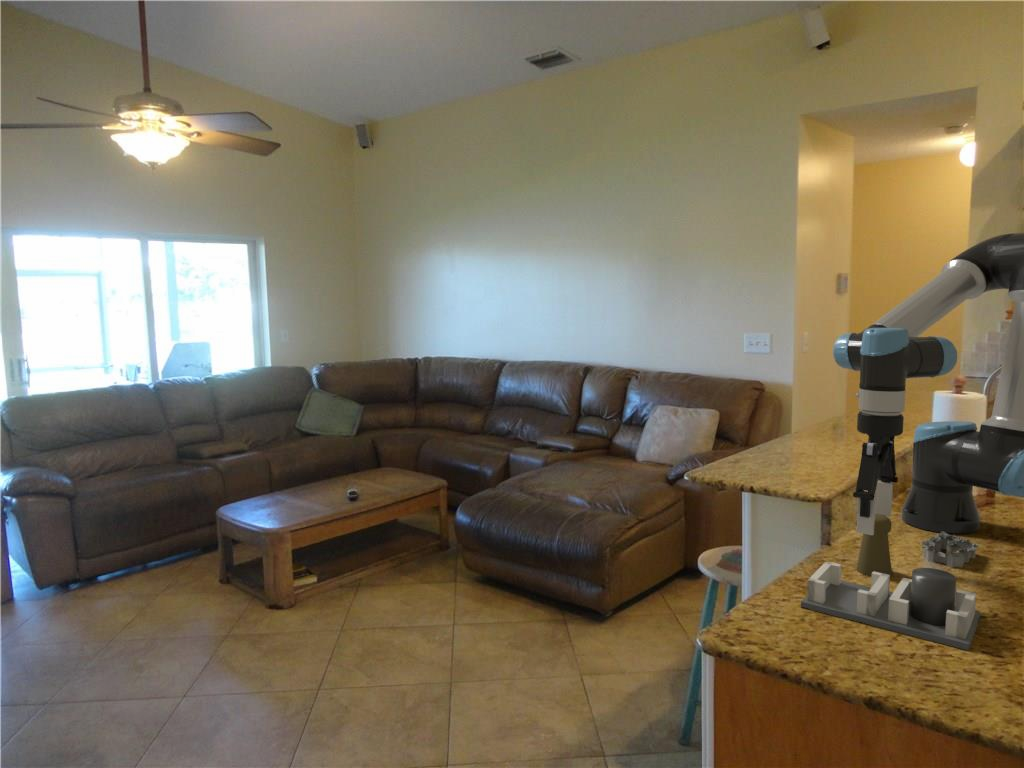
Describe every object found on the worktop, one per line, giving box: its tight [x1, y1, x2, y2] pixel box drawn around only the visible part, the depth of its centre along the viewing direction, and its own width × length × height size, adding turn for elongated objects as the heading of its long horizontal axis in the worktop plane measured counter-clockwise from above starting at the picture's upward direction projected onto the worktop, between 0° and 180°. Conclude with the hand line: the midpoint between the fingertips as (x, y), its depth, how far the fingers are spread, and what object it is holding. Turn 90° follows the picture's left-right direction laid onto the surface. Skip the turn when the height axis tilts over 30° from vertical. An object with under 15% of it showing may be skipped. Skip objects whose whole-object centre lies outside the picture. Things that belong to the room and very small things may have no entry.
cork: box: [855, 514, 893, 577], centre depth 132 cm, size 6×6×11 cm
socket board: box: [800, 560, 981, 652], centre depth 115 cm, size 13×24×8 cm, turn 50°
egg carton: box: [921, 531, 979, 568], centre depth 138 cm, size 11×8×4 cm
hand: (874, 524), depth 131 cm, fingers open, 13 cm apart
